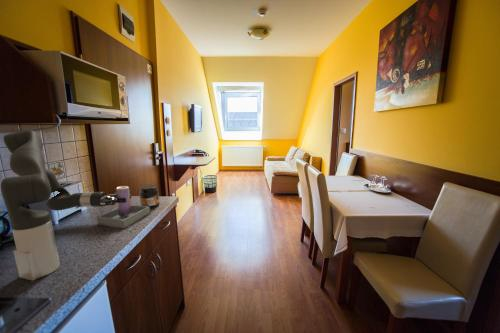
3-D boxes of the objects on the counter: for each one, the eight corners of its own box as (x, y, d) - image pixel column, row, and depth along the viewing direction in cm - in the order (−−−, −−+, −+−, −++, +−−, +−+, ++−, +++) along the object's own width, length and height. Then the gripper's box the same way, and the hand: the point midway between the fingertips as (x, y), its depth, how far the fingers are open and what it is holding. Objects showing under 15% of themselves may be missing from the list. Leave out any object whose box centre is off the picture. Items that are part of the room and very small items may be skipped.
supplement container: (152, 209, 127) (150, 190, 124) (136, 208, 129) (134, 188, 127) (163, 203, 137) (161, 184, 135) (148, 202, 139) (146, 184, 137)
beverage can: (125, 217, 111) (123, 189, 109) (115, 216, 112) (112, 188, 110) (134, 213, 117) (131, 186, 114) (124, 212, 118) (122, 185, 116)
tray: (124, 228, 104) (123, 220, 104) (98, 224, 108) (96, 217, 108) (150, 213, 121) (149, 206, 121) (126, 210, 126) (125, 204, 125)
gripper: (83, 197, 104) (120, 196, 105) (100, 188, 118) (133, 187, 119) (85, 211, 105) (122, 210, 107) (102, 201, 119) (135, 200, 121)
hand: (128, 198), depth 113 cm, fingers closed on beverage can, 5 cm apart
